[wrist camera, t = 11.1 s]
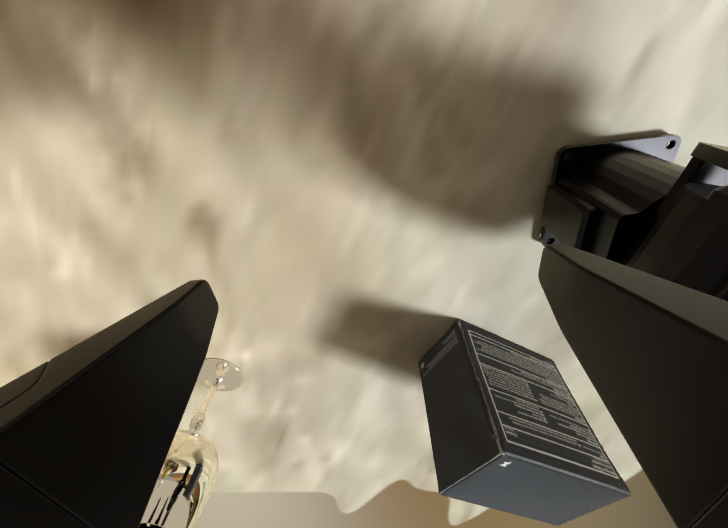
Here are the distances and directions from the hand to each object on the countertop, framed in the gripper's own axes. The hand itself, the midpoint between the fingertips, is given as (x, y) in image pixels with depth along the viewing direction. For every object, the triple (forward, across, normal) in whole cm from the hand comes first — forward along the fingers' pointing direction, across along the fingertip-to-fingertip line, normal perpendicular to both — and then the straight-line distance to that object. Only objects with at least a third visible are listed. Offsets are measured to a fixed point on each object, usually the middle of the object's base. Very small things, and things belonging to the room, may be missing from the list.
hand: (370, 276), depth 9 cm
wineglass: (+13, +16, +18) cm, 27 cm away
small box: (+13, -8, +19) cm, 24 cm away
